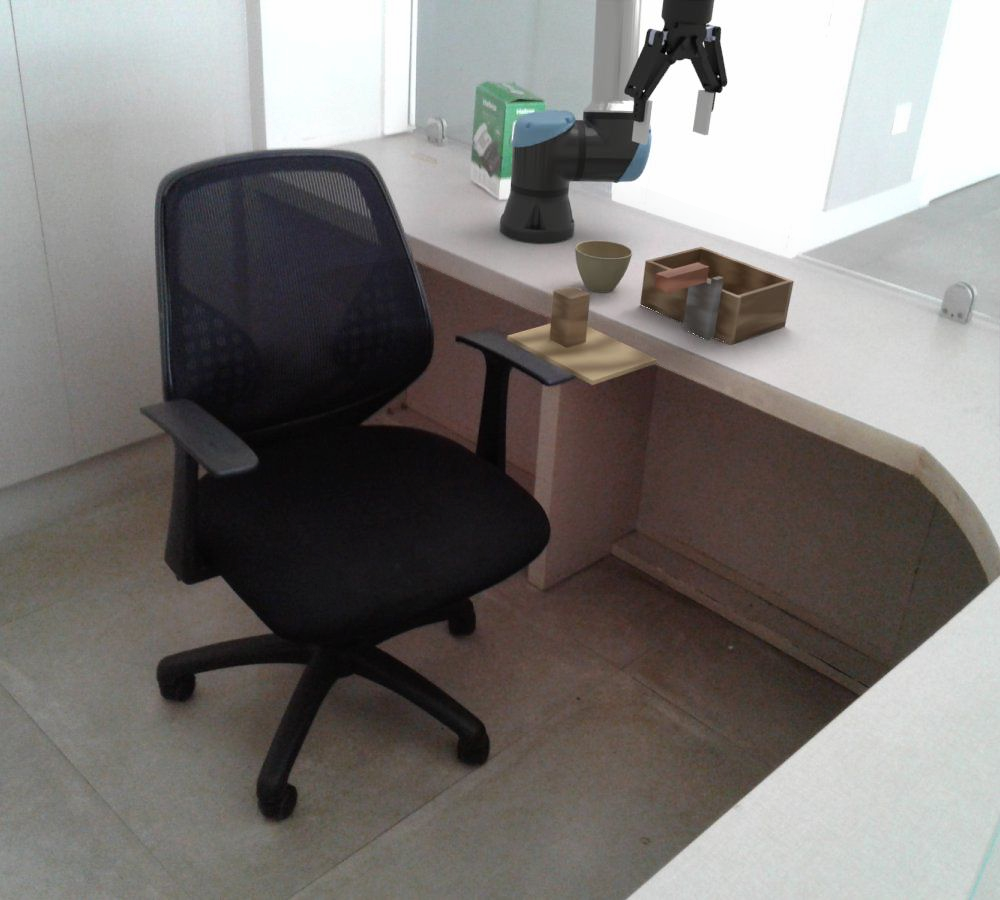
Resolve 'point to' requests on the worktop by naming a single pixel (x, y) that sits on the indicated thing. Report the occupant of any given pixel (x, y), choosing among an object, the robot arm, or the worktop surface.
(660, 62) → the robot arm
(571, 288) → the wooden block with peg
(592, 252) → the flower pot
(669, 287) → the reddish brown rectangular block
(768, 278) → the brown wooden box
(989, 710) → the worktop surface
